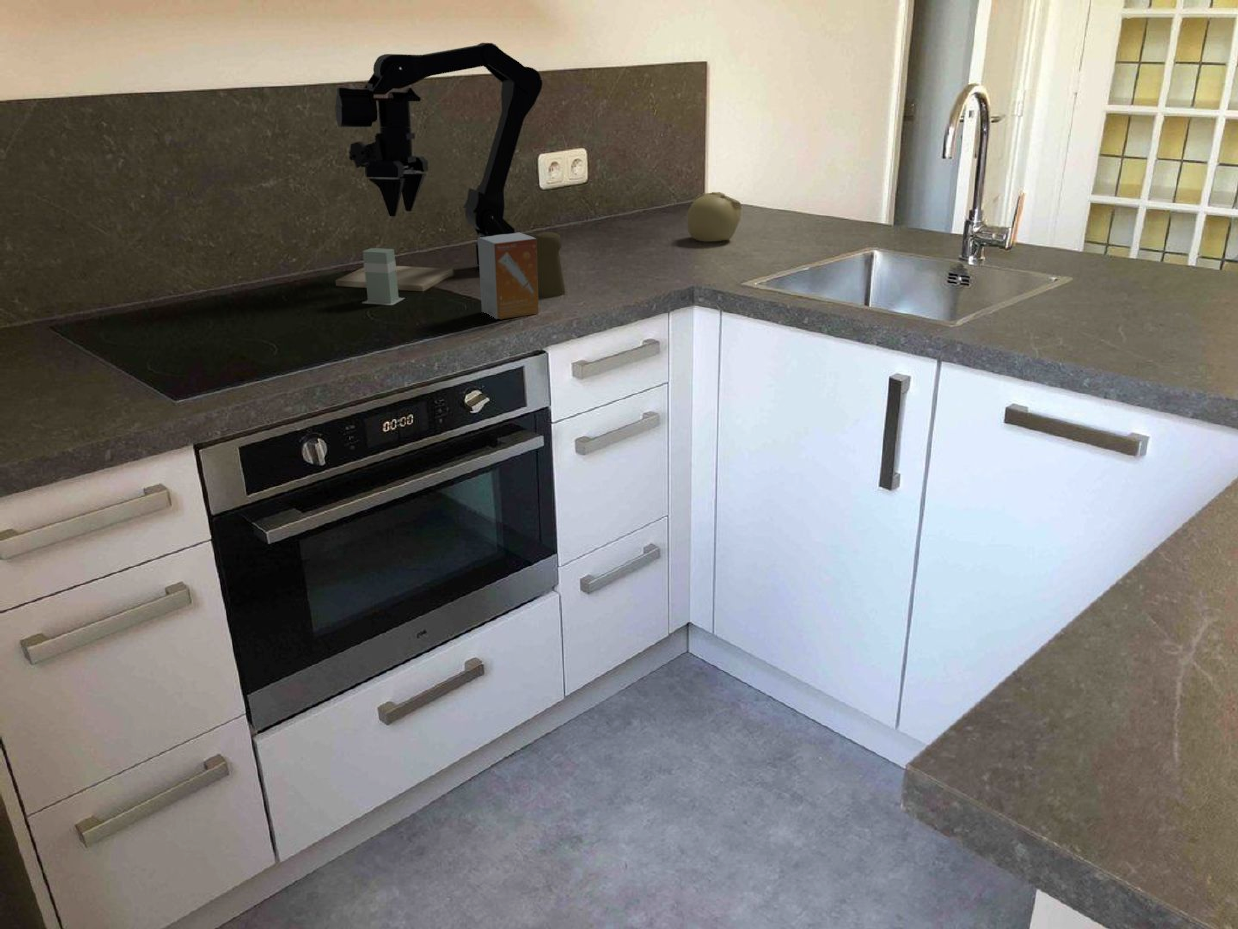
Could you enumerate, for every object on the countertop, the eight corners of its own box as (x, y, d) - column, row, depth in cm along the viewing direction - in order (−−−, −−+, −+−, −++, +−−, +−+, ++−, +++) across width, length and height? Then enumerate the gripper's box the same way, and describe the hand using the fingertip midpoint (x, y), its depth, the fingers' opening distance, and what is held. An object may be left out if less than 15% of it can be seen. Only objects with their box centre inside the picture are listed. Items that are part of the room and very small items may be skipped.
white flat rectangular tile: (405, 298, 179) (405, 297, 179) (392, 305, 175) (392, 304, 175) (375, 297, 181) (374, 295, 181) (361, 303, 176) (361, 302, 176)
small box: (497, 321, 166) (493, 243, 161) (481, 312, 171) (476, 236, 165) (540, 313, 170) (537, 237, 165) (522, 305, 175) (519, 231, 169)
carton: (399, 298, 179) (394, 249, 175) (391, 303, 176) (386, 252, 172) (376, 297, 180) (370, 247, 176) (367, 301, 177) (362, 251, 173)
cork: (570, 290, 185) (568, 230, 180) (558, 298, 180) (556, 237, 175) (540, 287, 187) (538, 228, 182) (527, 295, 181) (524, 235, 177)
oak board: (453, 275, 196) (452, 269, 196) (423, 292, 184) (422, 285, 184) (371, 270, 201) (370, 264, 200) (336, 286, 188) (335, 280, 188)
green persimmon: (746, 238, 228) (748, 190, 224) (722, 247, 219) (724, 197, 215) (702, 233, 234) (703, 186, 230) (677, 242, 225) (678, 193, 220)
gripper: (371, 125, 193) (377, 207, 198) (333, 127, 175) (341, 217, 181) (426, 126, 192) (431, 209, 197) (394, 128, 174) (400, 219, 180)
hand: (400, 213), depth 189 cm, fingers open, 9 cm apart
